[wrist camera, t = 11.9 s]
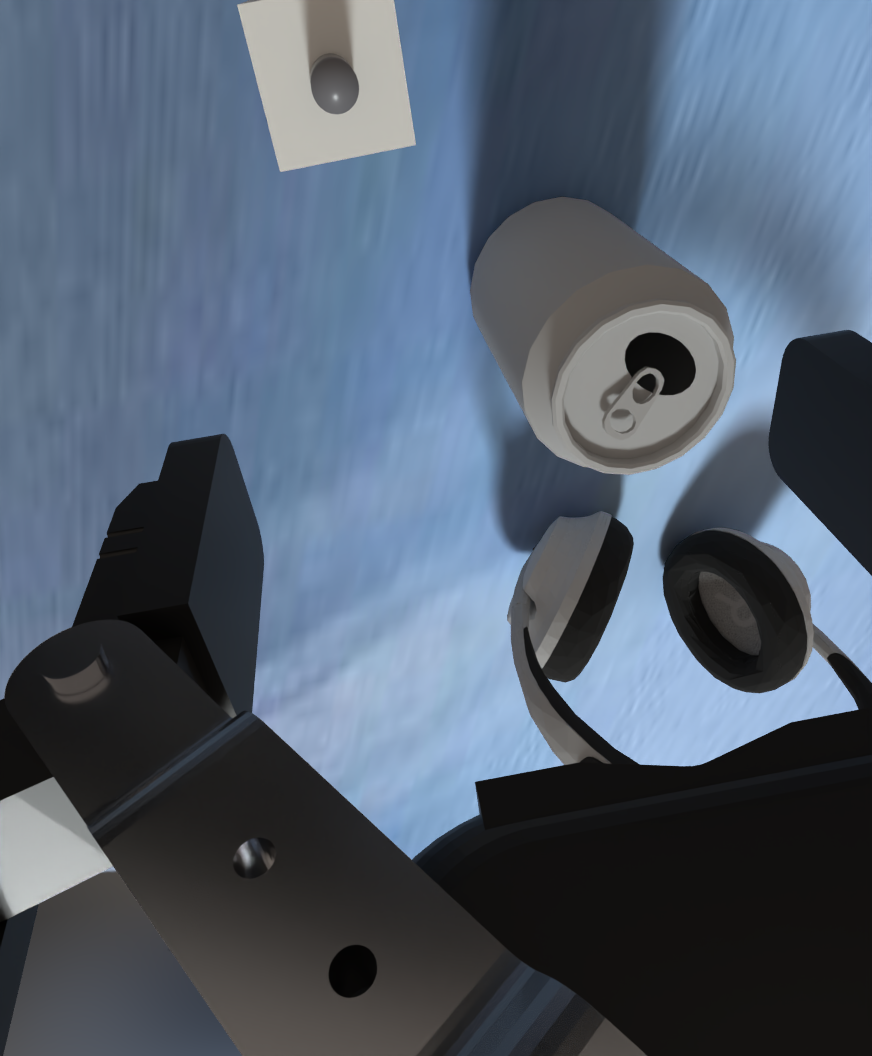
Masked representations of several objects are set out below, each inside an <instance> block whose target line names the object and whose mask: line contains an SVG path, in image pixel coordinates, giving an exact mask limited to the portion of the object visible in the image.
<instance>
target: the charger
mask: <svg viewBox="0 0 872 1056" xmlns="http://www.w3.org/2000/svg"><path fill="white" fill-rule="evenodd" d="M237 6H238V10H239V14H240V17H241V21H242V25H243V29H244V33H245V37H246V41H247V45H248V49H249V52H250V56H251V60H252V64H253V68H254V72H255V76H256V80H257V83H258V87H259V91H260V95H261V99H262V103H263V107H264V111H265V115H266V118H267V122H268V126H269V130H270V134H271V138H272V142H273V146H274V150H275V153H276V157H277V161H278V165H279V169H280V172H283V171H288V170H293V169H298V168H303V167H308V166H313V165H318V164H323V163H328V162H333V161H338V160H343V159H348V158H353V157H358V156H363V155H368V154H373V153H378V152H383V151H388V150H393V149H398V148H403V147H408V146H413V145H416V142H415V136H414V129H413V123H412V116H411V110H410V103H409V97H408V90H407V83H406V77H405V70H404V64H403V57H402V51H401V44H400V38H399V31H398V25H397V18H396V11H395V5H394V0H249V1H246V2H244V3H241V4H239V5H237Z"/></svg>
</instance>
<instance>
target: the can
mask: <svg viewBox="0 0 872 1056" xmlns="http://www.w3.org/2000/svg"><path fill="white" fill-rule="evenodd" d="M470 294H471V302H472V310H473V317H474V319H475V321H476V323H477V325H478V327H479V329H480V331H481V333H482V335H483V337H484V339H485V341H486V343H487V345H488V346H489V348H490V350H491V352H492V354H493V356H494V358H495V360H496V362H497V363H498V365H499V367H500V369H501V371H502V373H503V375H504V377H505V378H506V380H507V382H508V384H509V386H510V388H511V390H512V392H513V393H514V395H515V397H516V399H517V401H518V403H519V405H520V407H521V408H522V410H523V412H524V414H525V416H526V418H527V420H528V422H529V424H530V425H531V427H532V429H533V431H534V433H535V435H536V437H537V438H538V439H539V440H540V441H541V442H542V443H543V444H544V445H545V446H546V447H548V448H549V449H550V450H551V451H552V452H553V453H554V454H555V455H556V456H557V457H560V458H562V459H565V460H567V461H570V462H572V463H575V464H577V465H580V466H582V467H589V468H592V469H594V470H597V471H599V472H602V473H609V474H625V475H630V474H635V473H640V472H644V471H649V470H654V469H657V468H659V467H661V466H663V465H665V464H667V463H669V462H671V461H673V460H675V459H677V458H679V457H681V456H683V455H684V454H685V453H687V452H688V451H689V450H690V449H691V448H693V447H694V446H695V445H696V444H697V443H699V442H700V441H701V440H702V439H704V438H705V437H706V435H707V434H708V433H709V431H710V430H711V429H712V427H713V426H714V425H715V423H716V422H717V421H718V419H719V418H720V417H721V415H722V414H723V412H724V409H725V407H726V404H727V402H728V400H729V397H730V395H731V392H732V390H733V387H734V377H735V366H736V359H735V355H734V351H733V342H734V336H733V332H732V328H731V324H730V320H729V317H728V313H727V309H726V307H725V306H724V304H723V303H722V302H721V300H720V299H719V298H718V297H717V295H716V294H715V293H714V291H713V290H712V289H711V287H710V286H709V285H708V284H707V283H706V282H704V281H703V280H702V279H700V278H699V277H698V276H696V275H695V274H693V273H692V272H691V271H689V270H688V269H687V268H685V267H684V266H682V265H681V264H680V263H678V262H677V261H676V260H674V259H673V258H671V257H670V256H669V255H667V254H666V253H665V252H663V251H662V250H660V249H659V248H658V247H656V246H655V245H654V244H652V243H651V242H649V241H648V240H647V239H645V238H644V237H643V236H641V235H640V234H638V233H637V232H636V231H634V230H633V229H632V228H630V227H629V226H627V225H626V224H625V223H623V222H622V221H621V220H619V219H618V218H617V217H615V216H614V215H612V214H611V213H609V212H608V211H606V210H604V209H602V208H601V207H599V206H597V205H595V204H594V203H592V202H590V201H588V200H582V199H575V198H568V197H557V198H552V199H547V200H542V201H538V202H534V203H532V204H530V205H528V206H527V207H525V208H523V209H521V210H520V211H518V212H516V213H514V214H512V215H511V216H509V217H508V218H507V219H506V220H505V221H504V222H503V223H502V224H501V225H500V226H499V227H498V228H497V229H496V231H495V232H494V233H493V234H492V235H491V236H490V237H489V238H488V240H487V242H486V244H485V245H484V247H483V249H482V251H481V253H480V255H479V257H478V259H477V261H476V263H475V267H474V272H473V278H472V283H471V289H470Z"/></svg>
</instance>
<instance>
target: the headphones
mask: <svg viewBox="0 0 872 1056" xmlns="http://www.w3.org/2000/svg"><path fill="white" fill-rule="evenodd" d="M633 545H634V543H633V537H632V535H631V533H630V532H629V530H628V528H627V527H626V526H625V525H624V524H622V523H621V522H620V521H618V520H617V519H615V518H613V517H612V515H611V514H608V513H606V512H603V511H599V512H597V513H595V514H593V515H590V516H586V517H578V518H569V517H561V516H559V517H558V518H557V519H556V520H555V521H554V522H553V523H552V524H551V525H550V526H549V528H548V529H547V530H546V532H545V534H544V535H543V537H542V538H541V540H540V542H539V543H538V545H536V546H535V547H534V548H533V552H532V553H531V555H530V557H529V558H528V560H527V561H526V563H525V564H524V566H523V568H522V570H521V572H520V575H519V578H518V581H517V584H516V587H515V591H514V595H513V598H512V600H511V603H510V606H509V610H508V615H507V621H508V622H509V623H510V625H511V644H512V651H513V658H514V664H515V667H516V671H517V674H518V677H519V680H520V684H521V687H522V691H523V694H524V697H525V701H526V704H527V707H528V710H529V713H530V715H531V717H532V719H533V720H534V722H535V724H536V725H537V727H538V728H539V730H540V732H541V733H542V735H543V737H544V738H545V740H546V741H547V743H548V745H549V746H550V748H551V750H552V751H553V752H554V754H555V755H556V756H557V757H558V758H559V759H560V760H561V761H562V763H563V764H564V765H568V764H573V763H579V762H581V763H607V764H633V765H640V764H638V763H637V762H635V761H633V760H632V759H630V758H629V757H627V756H626V755H624V754H622V753H621V752H619V751H618V750H616V749H615V748H614V747H612V746H611V745H610V744H609V743H608V742H607V741H605V740H604V739H603V738H602V737H601V736H600V735H599V734H597V733H596V732H595V731H594V730H593V729H592V728H591V727H589V726H588V725H587V724H586V723H585V722H584V721H583V720H581V719H580V718H579V717H578V716H577V715H576V714H575V713H574V712H573V711H572V709H571V708H570V707H569V706H568V704H567V703H566V702H565V701H564V700H563V698H562V697H561V696H560V695H559V693H558V692H557V691H556V690H555V689H554V687H553V686H552V684H551V683H550V681H549V680H548V678H549V679H552V680H557V681H561V682H568V681H571V680H574V679H575V678H576V677H577V676H578V675H579V674H580V673H581V672H582V670H583V669H584V667H585V666H586V664H587V663H588V662H589V660H590V658H591V656H592V654H593V653H594V651H595V649H596V647H597V645H598V644H599V642H600V639H601V637H602V635H603V633H604V631H605V628H606V626H607V624H608V622H609V620H610V618H611V615H612V612H613V610H614V607H615V604H616V602H617V599H618V596H619V594H620V591H621V588H622V585H623V583H624V580H625V577H626V574H627V571H628V567H629V563H630V559H631V555H632V550H633ZM663 589H664V596H665V600H666V603H667V606H668V609H669V613H670V616H671V619H672V621H673V623H674V625H675V627H676V629H677V631H678V633H679V635H680V637H681V638H682V640H683V641H684V642H685V644H686V645H687V647H688V648H689V650H690V651H691V653H692V654H693V655H694V657H695V658H696V659H697V661H698V662H699V663H700V664H701V665H702V666H703V667H704V668H705V669H706V670H707V671H708V672H709V673H711V674H712V675H713V676H714V677H715V678H716V679H718V680H720V681H721V682H723V683H725V684H727V685H728V686H730V687H732V688H734V689H737V690H740V691H744V692H751V693H763V692H768V691H772V690H775V689H777V688H779V687H781V686H782V685H784V684H786V683H788V682H790V681H791V680H793V679H795V678H796V677H797V675H798V674H799V673H800V671H801V670H802V669H803V668H804V666H805V665H806V664H807V662H808V659H809V657H810V654H811V652H812V647H813V648H814V649H815V650H816V651H817V652H818V653H819V654H820V655H821V656H822V657H823V658H824V659H825V660H826V661H827V662H828V663H829V664H830V665H831V666H832V668H833V669H834V671H835V672H836V674H837V675H838V677H839V678H840V679H841V681H842V682H843V684H844V685H845V687H846V688H847V689H848V691H849V692H850V694H851V695H852V697H853V698H854V700H855V702H856V704H857V706H858V709H859V710H860V709H866V708H871V707H872V683H871V682H870V681H869V680H868V678H867V677H866V676H865V675H864V674H863V673H862V672H861V671H860V669H859V668H858V667H857V666H856V665H855V664H854V663H853V662H852V661H851V660H850V659H849V658H848V657H847V656H846V655H845V654H844V653H843V652H842V651H841V650H840V649H839V648H838V647H837V646H836V645H835V644H834V643H833V642H832V641H831V640H830V639H829V638H828V637H827V636H826V635H825V634H824V633H823V632H822V631H820V630H819V629H818V628H817V627H816V626H815V625H814V624H813V623H812V618H811V614H810V610H811V595H810V591H809V588H808V584H807V581H806V578H805V577H804V575H803V573H802V572H801V570H800V568H799V567H798V565H797V564H796V563H795V562H794V561H793V560H792V559H791V557H790V556H788V555H787V554H786V553H785V552H783V551H782V550H780V549H779V548H777V547H775V546H773V545H770V544H767V543H764V542H760V541H758V540H757V539H755V538H753V537H751V536H750V535H748V534H746V533H743V532H740V531H738V530H734V529H729V528H711V529H707V530H702V531H699V532H696V533H693V534H692V535H690V536H689V537H688V538H686V539H685V540H684V541H682V542H681V543H680V544H678V545H677V546H676V547H675V549H674V550H673V552H672V553H671V555H670V556H669V558H668V560H667V561H666V563H665V567H664V573H663Z"/></svg>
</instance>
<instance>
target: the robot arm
mask: <svg viewBox="0 0 872 1056" xmlns="http://www.w3.org/2000/svg"><path fill="white" fill-rule="evenodd" d="M769 453H770V458H771V462H772V465H773V467H774V469H775V471H776V473H777V475H778V476H779V477H780V478H781V479H782V481H783V482H784V483H785V484H786V485H787V486H788V487H789V488H790V489H791V490H792V491H793V492H794V493H795V494H796V495H797V497H798V498H799V499H800V500H801V501H802V502H803V503H804V504H805V505H806V506H807V507H808V508H809V509H810V510H811V511H812V513H813V514H814V515H815V516H816V517H817V518H818V519H819V520H820V521H821V522H822V523H823V524H824V525H825V526H826V527H827V529H828V530H829V531H830V532H831V533H832V534H833V535H834V536H835V537H836V538H837V539H838V540H839V541H840V542H841V543H842V545H843V546H844V547H845V548H846V549H847V550H848V551H849V552H850V553H851V554H852V555H853V556H854V557H855V558H856V559H857V561H858V562H859V563H860V564H861V565H862V566H863V567H864V568H865V569H866V570H867V571H868V572H869V573H870V574H871V575H872V343H871V342H870V341H868V340H867V339H865V338H864V337H862V336H860V335H859V334H857V333H856V332H854V331H851V330H844V331H838V332H832V333H826V334H820V335H814V336H808V337H802V338H797V339H794V340H792V341H791V342H790V343H789V344H788V346H787V347H786V349H785V352H784V354H783V358H782V363H781V369H780V375H779V381H778V386H777V392H776V398H775V404H774V409H773V415H772V421H771V427H770V432H769ZM107 535H108V538H105V539H104V542H103V545H102V547H101V550H100V553H99V555H100V559H97V561H96V564H95V566H94V569H93V572H92V574H91V577H90V580H89V583H88V585H87V588H86V591H85V593H84V596H83V599H82V601H81V604H80V607H79V610H78V612H77V615H76V618H75V620H74V623H73V626H72V627H71V628H69V629H66V630H64V631H62V632H60V633H58V634H56V635H54V636H52V637H50V638H49V639H47V640H46V641H44V642H43V643H41V644H40V645H39V646H37V647H36V648H35V649H34V650H32V651H31V652H30V653H29V654H28V655H27V656H26V657H25V658H24V659H23V660H22V661H21V662H20V663H19V665H18V666H17V667H16V668H15V670H14V671H13V673H12V675H11V676H10V678H9V680H8V683H7V686H6V689H5V696H4V697H5V698H4V699H2V700H0V1056H3V1053H4V1049H5V1045H6V1041H7V1037H8V1032H9V1028H10V1024H11V1020H12V1015H13V1011H14V1007H15V1003H16V998H17V994H18V990H19V985H20V981H21V977H22V972H23V968H24V964H25V960H26V956H27V951H28V947H29V943H30V939H31V935H32V930H33V926H34V921H35V918H36V913H37V909H38V905H39V903H41V902H43V901H44V900H47V899H48V898H50V897H53V896H54V895H57V894H58V893H61V892H63V891H65V890H67V889H69V888H71V887H73V886H75V885H77V884H79V883H81V882H83V881H85V880H87V879H89V878H91V877H93V876H95V875H97V874H99V873H101V872H103V871H105V870H107V869H109V868H111V867H114V868H115V870H116V871H117V873H118V874H119V875H120V877H121V878H122V880H123V881H124V883H125V884H126V886H127V887H128V889H129V890H130V892H131V893H132V894H133V896H134V897H135V899H136V900H137V902H138V903H139V905H140V906H141V908H142V909H143V911H144V912H145V914H146V915H147V916H148V918H149V919H150V921H151V922H152V924H153V925H154V927H155V928H156V930H157V931H158V932H159V934H160V936H161V937H162V938H163V940H164V941H165V943H166V944H167V946H168V947H169V949H170V950H171V952H172V953H173V955H174V956H175V958H176V959H177V960H178V962H179V963H180V965H181V966H182V967H183V969H184V971H185V972H186V973H187V975H188V977H189V978H190V979H191V981H192V982H193V984H194V985H195V987H196V988H197V989H198V991H199V993H200V994H201V996H202V997H203V998H204V1000H205V1001H206V1003H207V1004H208V1006H209V1007H210V1009H211V1010H212V1012H213V1013H214V1015H215V1016H216V1018H217V1019H218V1020H219V1022H220V1023H221V1025H222V1026H223V1028H224V1029H225V1031H226V1032H227V1034H228V1035H229V1037H230V1038H231V1039H232V1041H233V1042H234V1044H235V1045H236V1047H237V1048H238V1050H239V1051H240V1053H241V1054H242V1056H872V707H871V708H866V709H860V710H855V711H850V712H844V713H839V714H834V715H828V716H823V717H818V718H813V719H807V720H802V721H797V722H791V723H789V724H787V725H785V726H783V727H781V728H778V729H776V730H774V731H772V732H770V733H768V734H766V735H764V736H762V737H760V738H757V739H755V740H753V741H751V742H749V743H747V744H745V745H743V746H741V747H739V748H736V749H734V750H732V751H730V752H728V753H726V754H724V755H722V756H720V757H717V758H715V759H713V760H711V761H709V762H707V763H704V764H701V765H697V766H659V765H633V764H607V763H581V762H579V763H573V764H568V765H563V766H557V767H552V768H547V769H541V770H536V771H531V772H526V773H520V774H515V775H510V776H504V777H499V778H494V779H488V780H483V781H478V782H475V785H476V792H477V799H478V806H479V813H480V815H478V816H476V817H474V818H472V819H470V820H468V821H466V822H464V823H462V824H460V825H458V826H456V827H455V828H453V829H452V830H450V831H448V832H447V833H445V834H444V835H442V836H441V837H439V838H437V839H436V840H435V841H434V842H432V843H431V844H430V845H429V846H427V847H426V848H425V849H424V850H422V851H421V852H420V853H419V854H418V855H416V856H415V857H414V858H413V859H412V860H411V859H410V858H409V857H408V856H407V855H406V854H405V853H404V852H403V851H401V850H400V849H399V848H398V847H397V846H396V845H395V844H394V843H393V842H392V841H391V840H390V839H389V838H387V837H386V836H385V835H384V834H383V833H382V832H381V831H380V830H379V829H378V828H377V827H376V826H375V825H374V824H372V823H371V822H370V821H369V820H368V819H367V818H366V817H365V816H364V815H363V814H362V813H361V812H360V811H359V810H357V809H356V808H355V807H354V806H353V805H352V804H351V803H350V802H349V801H348V800H347V799H346V798H345V797H343V796H342V795H341V794H340V793H339V792H338V791H337V790H336V789H335V788H334V787H333V786H332V785H331V784H330V783H328V782H327V781H326V780H325V779H324V778H323V777H322V776H321V775H320V774H319V773H318V772H317V771H316V770H315V769H313V768H312V767H311V766H310V765H309V764H308V763H307V762H306V761H305V760H304V759H303V758H302V757H301V756H299V755H298V754H297V753H296V752H295V751H294V750H293V749H292V748H291V747H290V746H289V745H288V744H287V743H286V742H284V741H283V740H282V739H281V738H280V737H279V736H278V735H277V734H276V733H275V732H274V731H273V730H272V729H271V728H269V727H268V726H267V725H266V724H265V723H264V722H263V721H262V720H261V719H259V718H258V717H257V716H255V715H254V714H252V706H253V694H254V681H255V669H256V657H257V644H258V632H259V620H260V607H261V595H262V583H263V571H264V554H263V546H262V540H261V535H260V530H259V526H258V523H257V520H256V517H255V513H254V510H253V507H252V504H251V501H250V498H249V495H248V492H247V489H246V486H245V483H244V480H243V477H242V474H241V470H240V467H239V464H238V461H237V458H236V455H235V452H234V449H233V446H232V444H231V442H230V440H229V438H228V437H227V435H226V434H220V435H214V436H208V437H202V438H196V439H190V440H184V441H178V442H172V443H171V444H170V445H169V447H168V450H167V453H166V457H165V460H164V463H163V467H162V470H161V473H160V476H159V480H158V481H153V482H147V483H141V484H139V485H138V486H137V487H136V488H135V489H134V490H133V491H132V492H131V493H130V494H129V495H128V496H127V497H126V498H125V499H124V500H123V501H122V502H121V503H120V504H119V505H118V506H117V507H116V509H115V512H114V515H113V517H112V520H111V523H110V526H109V528H108V531H107Z"/></svg>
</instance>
